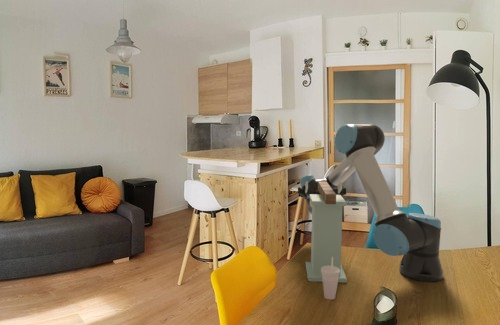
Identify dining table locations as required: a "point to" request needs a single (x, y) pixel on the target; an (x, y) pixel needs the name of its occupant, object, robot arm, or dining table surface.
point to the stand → (325, 237)
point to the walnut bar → (326, 192)
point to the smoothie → (330, 280)
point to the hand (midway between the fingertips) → (324, 184)
